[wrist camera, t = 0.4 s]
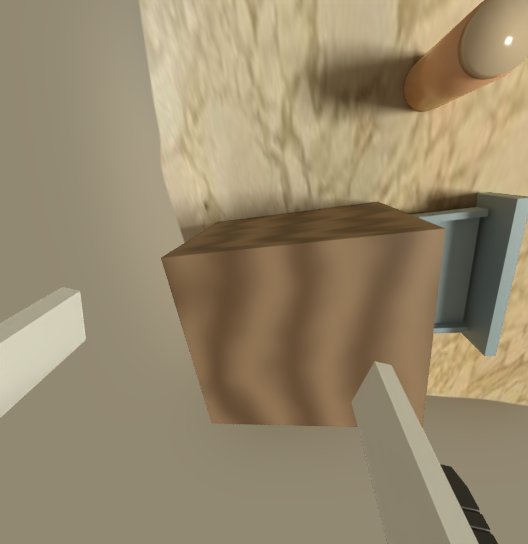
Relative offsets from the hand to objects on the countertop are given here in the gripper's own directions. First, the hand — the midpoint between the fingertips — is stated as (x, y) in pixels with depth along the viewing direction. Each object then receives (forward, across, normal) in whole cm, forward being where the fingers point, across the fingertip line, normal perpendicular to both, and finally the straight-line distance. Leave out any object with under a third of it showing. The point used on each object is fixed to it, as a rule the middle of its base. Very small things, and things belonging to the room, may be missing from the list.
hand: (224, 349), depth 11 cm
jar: (+26, +14, +18) cm, 35 cm away
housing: (+26, +7, -8) cm, 28 cm away
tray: (+25, +19, -3) cm, 31 cm away
